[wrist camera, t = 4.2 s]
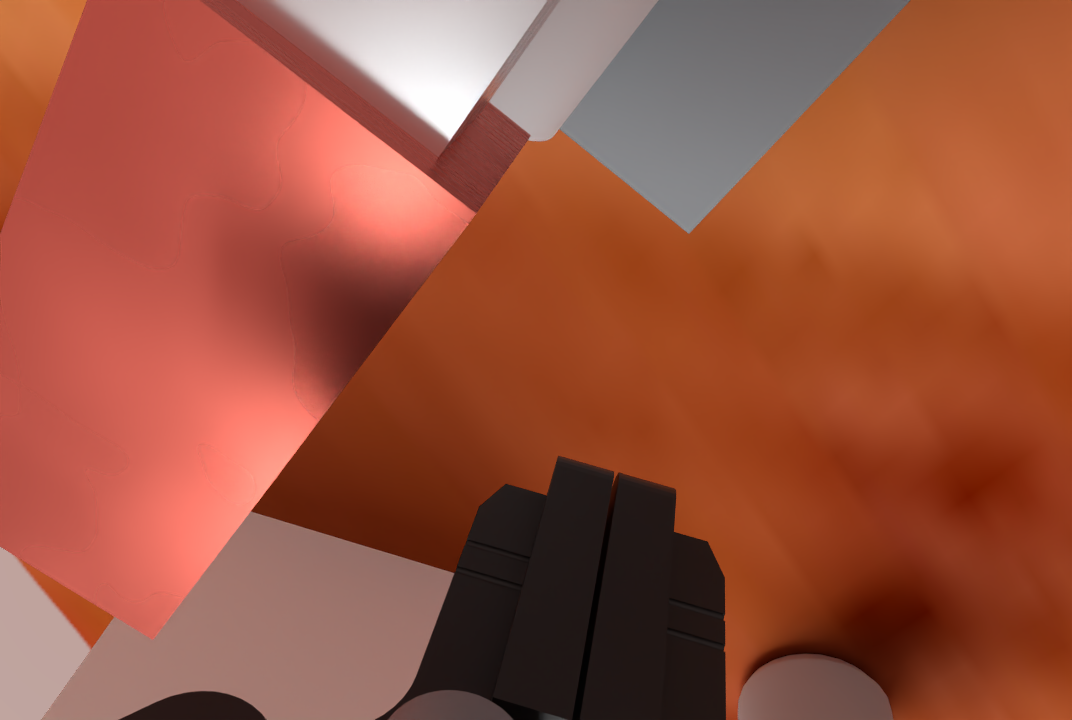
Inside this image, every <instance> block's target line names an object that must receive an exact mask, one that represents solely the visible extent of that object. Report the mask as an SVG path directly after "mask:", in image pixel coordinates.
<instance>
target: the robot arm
mask: <svg viewBox="0 0 1072 720" xmlns="http://www.w3.org/2000/svg"><path fill="white" fill-rule="evenodd" d="M613 478H614V471H610V470H607V469H603V468H600V467H596V466H593V465H589V464H586V463H582V462H579V461H575V460H572V459H568V458H565V457H561V456H558V458H557V462H556V465H555V469H554V472H553V476H552V479H551V483H550V486H549V490H548V493H547V496H546V495H543V494H539V493H536V492H533V491H529V490H526V489H522V488H519V487H515V486H512V485H508V484H505V485H504V486H503V487H502V488H500V489H499V490H498V491H497V492H496V493H495V494H493V495H492V496H491V497H490V498H489V499H488V500H486V501H485V502H484V503H483V504H482V505H481V506H479V509H478V511H477V514H476V517H475V519H474V522H473V525H472V527H471V530H470V533H469V535H468V538H467V542H466V545H465V546H464V549H463V552H462V554H461V557H460V560H459V562H458V565H457V568H456V572H455V573H454V576H453V578H452V581H451V584H450V586H449V589H448V592H447V594H446V597H445V600H444V602H443V605H442V608H441V611H440V613H439V616H438V619H437V621H436V624H435V627H434V629H433V632H432V635H431V637H430V640H429V643H428V645H427V648H426V651H425V653H424V656H423V659H422V661H421V664H420V667H419V670H418V672H417V675H416V677H415V679H414V681H413V683H412V686H411V687H410V689H409V690H408V692H407V693H406V694H405V696H404V697H403V698H402V699H401V700H400V701H399V702H398V703H397V704H396V705H395V706H394V707H393V708H392V709H390V710H389V711H388V712H386V713H385V714H384V715H382V716H380V717H379V718H377V719H375V720H726V682H725V652H724V646H725V621H723V620H724V615H725V577H724V575H723V573H722V571H721V569H720V567H719V565H718V563H717V560H716V558H715V556H714V554H713V552H712V550H711V548H710V546H709V544H708V542H707V541H703V540H700V539H696V538H693V537H690V536H686V535H683V534H679V533H676V532H674V521H675V506H676V490H675V489H674V488H671V487H667V486H664V485H660V484H657V483H653V482H650V481H646V480H643V479H639V478H636V477H632V476H629V475H625V474H622V473H618V474H617V476H616V478H615V481H614V484H613ZM612 484H613V486H612ZM119 720H266V718H265V717H264V716H263V714H262V713H261V712H260V711H258V710H257V709H256V708H255V707H254V706H253V705H251V704H249V703H248V702H246V701H244V700H243V699H241V698H238V697H235V696H233V695H230V694H226V693H220V692H215V691H195V692H186V693H182V694H178V695H174V696H170V697H167V698H165V699H162V700H160V701H157V702H155V703H153V704H151V705H149V706H146V707H144V708H142V709H140V710H138V711H136V712H134V713H132V714H129V715H127V716H125V717H123V718H121V719H119Z"/></svg>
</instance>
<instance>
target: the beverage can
mask: <svg viewBox="0 0 1072 720" xmlns="http://www.w3.org/2000/svg"><path fill="white" fill-rule="evenodd" d="M738 720H893V715H892V710H891V707H890V703H889V700H888V697H887V695H886V694H885V693H884V691H883V690H882V689H881V687H880V686H879V685H878V683H877V682H875V681H874V680H873V679H872V678H870V677H869V676H868V675H866V674H865V673H864V672H862V671H861V670H860V669H858V668H857V667H855V666H854V665H851V664H849V663H847V662H845V661H843V660H840V659H838V658H834V657H830V656H826V655H820V654H805V653H804V654H795V655H787V656H784V657H781V658H778V659H775V660H772V661H770V662H768V663H767V664H765V665H763V666H762V667H760V668H759V669H758V670H757V671H755V672H754V673H753V675H752V676H751V677H750V678H749V680H748V681H747V682H746V683H745V685H744V686H743V689H742V692H741V694H740V697H739V701H738Z"/></svg>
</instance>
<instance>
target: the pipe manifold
mask: <svg viewBox="0 0 1072 720" xmlns="http://www.w3.org/2000/svg"><path fill="white" fill-rule="evenodd" d="M909 1H910V0H560V1H559V3H558V4H557V6H556V7H555V9H554V10H553V11H552V13H551V14H550V16H549V17H548V18H547V20H546V21H545V23H544V24H543V26H542V27H541V28H540V30H539V31H538V33H537V34H536V36H535V37H534V38H533V40H532V41H531V43H530V44H529V46H528V47H527V48H526V50H525V51H524V53H523V54H522V55H521V57H520V58H519V60H518V61H517V63H516V64H515V65H514V67H513V68H512V70H511V71H510V73H509V74H508V75H507V77H506V78H505V80H504V81H503V82H502V84H501V85H500V87H499V88H498V90H497V91H496V92H495V94H494V95H493V97H492V98H491V100H490V101H489V102H490V103H491V104H492V105H494V106H495V107H496V108H497V109H499V110H500V111H501V112H502V113H504V114H505V115H506V116H507V117H509V118H510V119H511V120H512V121H514V122H515V123H516V124H517V125H519V126H520V127H521V128H522V129H524V130H525V131H526V132H527V133H529V134H530V135H531V136H530V138H529V139H528V140H530V141H546V140H549V139H551V138H552V137H553V136H554V135H555V134H556V132H557V131H558V130H559V129H560V130H561V131H563V132H564V133H565V134H566V135H567V136H569V137H570V138H571V139H572V140H574V141H575V142H576V143H577V144H579V145H580V146H581V147H582V148H584V149H585V150H586V151H587V152H588V153H590V154H591V155H592V156H593V157H595V158H596V159H597V160H598V161H600V162H601V163H602V164H603V165H605V166H606V167H607V168H608V169H609V170H611V171H612V172H613V173H614V174H616V175H617V176H618V177H619V178H621V179H622V180H623V181H624V182H626V183H627V184H628V185H629V186H630V187H632V188H633V189H634V190H635V191H637V192H638V193H639V194H640V195H642V196H643V197H644V198H645V199H647V200H648V201H649V202H650V203H651V204H653V205H654V206H655V207H656V208H658V209H659V210H660V211H661V212H663V213H664V214H665V215H666V216H668V217H669V218H670V219H671V220H672V221H674V222H675V223H676V224H677V225H679V226H680V227H681V228H682V229H684V230H685V231H686V232H687V233H690V232H691V231H692V230H693V229H694V228H695V227H696V226H697V225H698V224H699V223H700V221H701V220H702V219H703V218H704V217H705V216H706V215H707V214H708V213H709V212H710V211H711V210H712V209H713V208H714V207H715V206H716V205H717V204H718V203H719V201H720V200H721V199H722V198H723V197H724V196H725V195H726V194H727V193H728V192H729V191H730V190H731V189H732V188H733V187H734V186H735V185H736V184H737V182H738V181H739V180H740V179H741V178H742V177H743V176H744V175H745V174H746V173H747V172H748V171H749V170H750V169H751V168H752V167H753V166H754V165H755V164H756V162H757V161H758V160H759V159H760V158H761V157H762V156H763V155H764V154H765V153H766V152H767V151H768V150H769V149H770V148H771V147H772V146H773V145H774V143H775V142H776V141H777V140H778V139H779V138H780V137H781V136H782V135H783V134H784V133H785V132H786V131H787V130H788V129H789V128H790V127H791V126H792V124H793V123H794V122H795V121H796V120H797V119H798V118H799V117H800V116H801V115H802V114H803V113H804V112H805V111H806V110H807V109H808V108H809V107H810V106H811V104H812V103H813V102H814V101H815V100H816V99H817V98H818V97H819V96H820V95H821V94H822V93H823V92H824V91H825V90H826V89H827V88H828V87H829V85H830V84H831V83H832V82H833V81H834V80H835V79H836V78H837V77H838V76H839V75H840V74H841V73H842V72H843V71H844V70H845V69H846V68H847V67H848V65H849V64H850V63H851V62H852V61H853V60H854V59H855V58H856V57H857V56H858V55H859V54H860V53H861V52H862V51H863V50H864V49H865V48H866V46H867V45H868V44H869V43H870V42H871V41H872V40H873V39H874V38H875V37H876V36H877V35H878V34H879V33H880V32H881V31H882V30H883V29H884V27H885V26H886V25H887V24H888V23H889V22H890V21H891V20H892V19H893V18H894V17H895V16H896V15H897V14H898V13H899V12H900V11H901V10H902V9H903V7H904V6H905V5H906V4H907V3H908V2H909Z"/></svg>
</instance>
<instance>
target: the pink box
mask: <svg viewBox="0 0 1072 720" xmlns="http://www.w3.org/2000/svg"><path fill="white" fill-rule="evenodd" d="M559 1H560V0H87V2H86V5H85V8H84V10H83V13H82V16H81V18H80V21H79V24H78V26H77V29H76V32H75V34H74V37H73V40H72V42H71V45H70V48H69V51H68V53H67V56H66V59H65V61H64V64H63V67H62V69H61V72H60V75H59V77H58V80H57V83H56V86H55V88H54V91H53V94H52V96H51V99H50V102H49V104H48V107H47V110H46V112H45V115H44V118H43V120H42V123H41V126H40V129H39V131H38V134H37V137H36V139H35V142H34V145H33V147H32V150H31V153H30V155H29V158H28V161H27V163H26V166H25V169H24V172H23V174H22V177H21V180H20V182H19V185H18V188H17V190H16V193H15V196H14V198H13V201H12V204H11V207H10V209H9V212H8V215H7V217H6V220H5V223H4V225H3V228H2V231H1V233H0V547H2V548H3V549H5V550H7V551H8V552H10V553H11V554H13V555H15V556H16V557H18V558H20V559H21V560H23V561H25V562H26V563H28V564H29V565H31V566H33V567H34V568H36V569H38V570H39V571H41V572H42V573H44V574H46V575H47V576H49V577H51V578H52V579H54V580H56V581H57V582H59V583H60V584H62V585H64V586H65V587H67V588H69V589H70V590H72V591H74V592H75V593H77V594H78V595H80V596H82V597H83V598H85V599H87V600H88V601H90V602H91V603H93V604H95V605H96V606H98V607H100V608H101V609H103V610H105V611H106V612H108V613H109V614H111V615H113V616H114V617H116V618H118V619H119V620H121V621H123V622H124V623H126V624H127V625H129V626H131V627H132V628H134V629H136V630H137V631H139V632H140V633H142V634H144V635H145V636H147V637H149V638H150V639H152V640H154V638H155V637H156V636H157V634H158V633H159V632H160V630H161V629H162V628H163V626H164V625H165V624H166V622H167V621H168V620H169V618H170V617H171V616H172V614H173V613H174V612H175V610H176V609H177V608H178V607H179V605H180V604H181V603H182V601H183V600H184V599H185V597H186V596H187V595H188V593H189V592H190V591H191V589H192V588H193V587H194V585H195V584H196V583H197V581H198V580H199V579H200V577H201V576H202V575H203V574H204V572H205V571H206V570H207V568H208V567H209V566H210V564H211V563H212V562H213V560H214V559H215V558H216V556H217V555H218V554H219V552H220V551H221V550H222V548H223V547H224V546H225V544H226V543H227V542H228V541H229V539H230V538H231V537H232V535H233V534H234V533H235V531H236V530H237V529H238V527H239V526H240V525H241V523H242V522H243V521H244V519H245V518H246V517H247V515H248V514H249V513H250V511H251V510H252V509H253V508H254V506H255V505H256V504H257V502H258V501H259V500H260V498H261V497H262V496H263V494H264V493H265V492H266V490H267V489H268V488H269V486H270V485H271V484H272V482H273V481H274V480H275V478H276V477H277V476H278V475H279V473H280V472H281V471H282V469H283V468H284V467H285V465H286V464H287V463H288V461H289V460H290V459H291V457H292V456H293V455H294V453H295V452H296V451H297V449H298V448H299V447H300V445H301V444H302V443H303V442H304V440H305V439H306V438H307V436H308V435H309V434H310V432H311V431H312V430H313V428H314V427H315V426H316V424H317V423H318V422H319V420H320V419H321V418H322V416H323V415H324V414H325V412H326V411H327V410H328V409H329V407H330V406H331V405H332V403H333V402H334V401H335V399H336V398H337V397H338V395H339V394H340V393H341V391H342V390H343V389H344V387H345V386H346V385H347V383H348V382H349V381H350V379H351V378H352V377H353V376H354V374H355V373H356V372H357V370H358V369H359V368H360V366H361V365H362V364H363V362H364V361H365V360H366V358H367V357H368V356H369V354H370V353H371V352H372V350H373V349H374V348H375V346H376V345H377V344H378V343H379V341H380V340H381V339H382V337H383V336H384V335H385V333H386V332H387V331H388V329H389V328H390V327H391V325H392V324H393V323H394V321H395V320H396V319H397V317H398V316H399V315H400V313H401V312H402V311H403V310H404V308H405V307H406V306H407V304H408V303H409V302H410V300H411V299H412V298H413V296H414V295H415V294H416V292H417V291H418V290H419V288H420V287H421V286H422V284H423V283H424V282H425V280H426V279H427V278H428V277H429V275H430V274H431V273H432V271H433V270H434V269H435V267H436V266H437V265H438V263H439V262H440V261H441V259H442V258H443V257H444V255H445V254H446V253H447V251H448V250H449V249H450V247H451V246H452V245H453V244H454V242H455V241H456V240H457V238H458V237H459V236H460V234H461V233H462V232H463V230H464V229H465V228H466V226H467V225H468V224H469V222H470V221H471V220H472V218H473V217H474V216H475V214H476V213H477V212H478V210H479V209H480V207H481V206H482V205H483V203H484V202H485V200H486V199H487V197H488V196H489V195H490V193H491V192H492V190H493V189H494V187H495V186H496V185H497V183H498V182H499V180H500V179H501V177H502V176H503V175H504V173H505V172H506V170H507V169H508V168H509V166H510V165H511V163H512V162H513V160H514V159H515V158H516V156H517V155H518V153H519V152H520V150H521V149H522V148H523V146H524V145H525V143H526V142H527V140H528V139H529V138H530V136H531V135H530V134H529V133H527V132H526V131H525V130H524V129H522V128H521V127H520V126H519V125H517V124H516V123H515V122H514V121H512V120H511V119H510V118H509V117H507V116H506V115H505V114H504V113H502V112H501V111H500V110H499V109H497V108H496V107H495V106H494V105H492V104H491V103H490V102H489V101H490V100H491V98H492V97H493V95H494V94H495V92H496V91H497V90H498V88H499V87H500V85H501V84H502V82H503V81H504V80H505V78H506V77H507V75H508V74H509V73H510V71H511V70H512V68H513V67H514V65H515V64H516V63H517V61H518V60H519V58H520V57H521V55H522V54H523V53H524V51H525V50H526V48H527V47H528V46H529V44H530V43H531V41H532V40H533V38H534V37H535V36H536V34H537V33H538V31H539V30H540V28H541V27H542V26H543V24H544V23H545V21H546V20H547V18H548V17H549V16H550V14H551V13H552V11H553V10H554V9H555V7H556V6H557V4H558V3H559Z"/></svg>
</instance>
